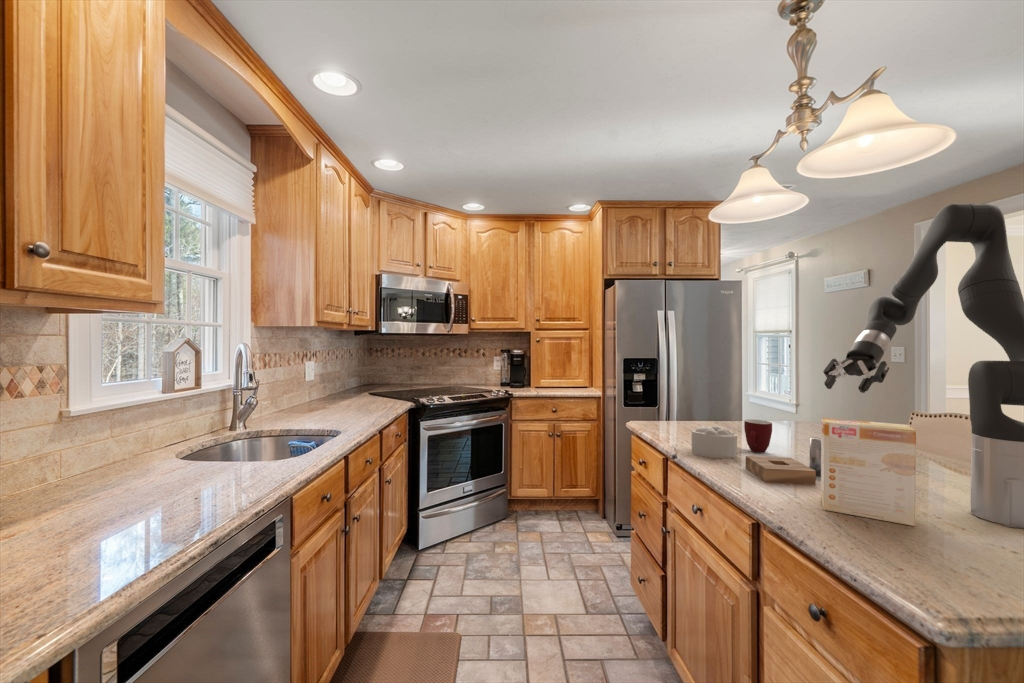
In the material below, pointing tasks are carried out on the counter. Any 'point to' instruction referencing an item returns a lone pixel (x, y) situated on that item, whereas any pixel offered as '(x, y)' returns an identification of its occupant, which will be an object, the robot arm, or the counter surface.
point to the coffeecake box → (869, 469)
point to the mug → (758, 434)
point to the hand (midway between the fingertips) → (843, 388)
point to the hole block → (780, 470)
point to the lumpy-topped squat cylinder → (714, 442)
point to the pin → (815, 455)
